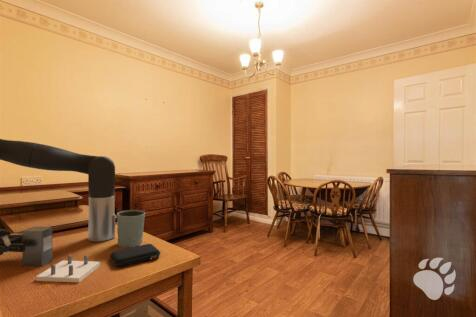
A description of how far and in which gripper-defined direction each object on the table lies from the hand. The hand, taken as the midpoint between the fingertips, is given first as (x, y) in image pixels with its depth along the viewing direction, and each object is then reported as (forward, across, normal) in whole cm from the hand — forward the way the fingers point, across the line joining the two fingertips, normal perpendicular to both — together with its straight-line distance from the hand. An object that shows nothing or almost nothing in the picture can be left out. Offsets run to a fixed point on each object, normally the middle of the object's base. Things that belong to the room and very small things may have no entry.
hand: (36, 242), depth 78 cm
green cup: (+21, +19, +7) cm, 29 cm away
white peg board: (+14, -5, +6) cm, 16 cm away
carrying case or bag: (+29, +6, +7) cm, 31 cm away
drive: (0, 0, +7) cm, 7 cm away
